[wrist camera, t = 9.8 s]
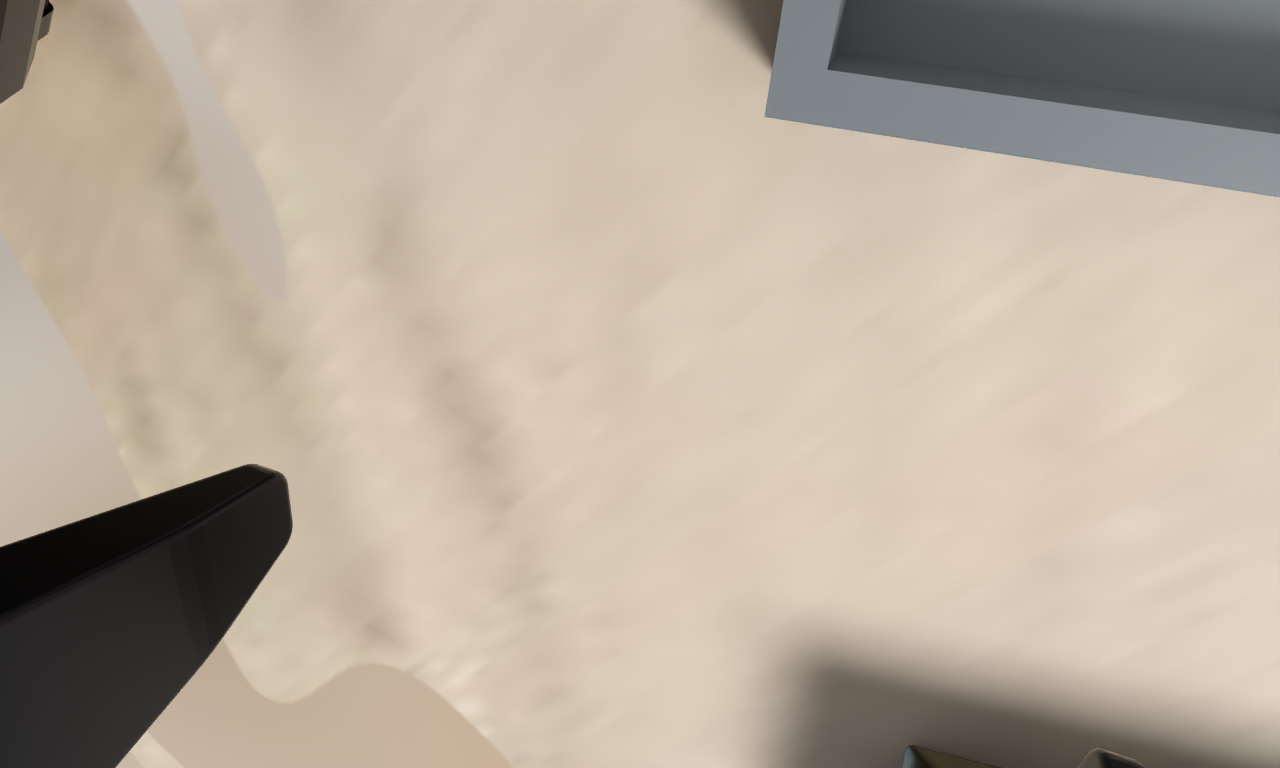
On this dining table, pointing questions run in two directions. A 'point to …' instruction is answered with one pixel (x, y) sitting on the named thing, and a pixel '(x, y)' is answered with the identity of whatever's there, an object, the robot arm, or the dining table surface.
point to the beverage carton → (936, 760)
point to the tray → (1048, 80)
